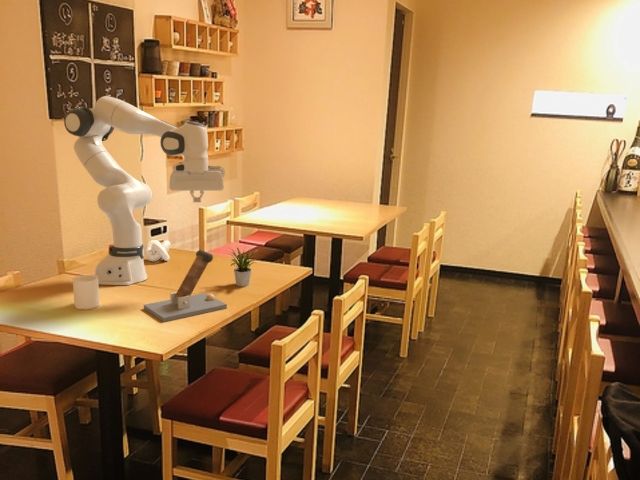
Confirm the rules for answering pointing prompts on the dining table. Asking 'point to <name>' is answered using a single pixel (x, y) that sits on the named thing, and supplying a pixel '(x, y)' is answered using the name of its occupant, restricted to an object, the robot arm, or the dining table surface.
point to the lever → (194, 273)
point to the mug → (86, 292)
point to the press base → (184, 306)
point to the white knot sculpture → (157, 250)
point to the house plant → (242, 268)
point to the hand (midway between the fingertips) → (197, 202)
